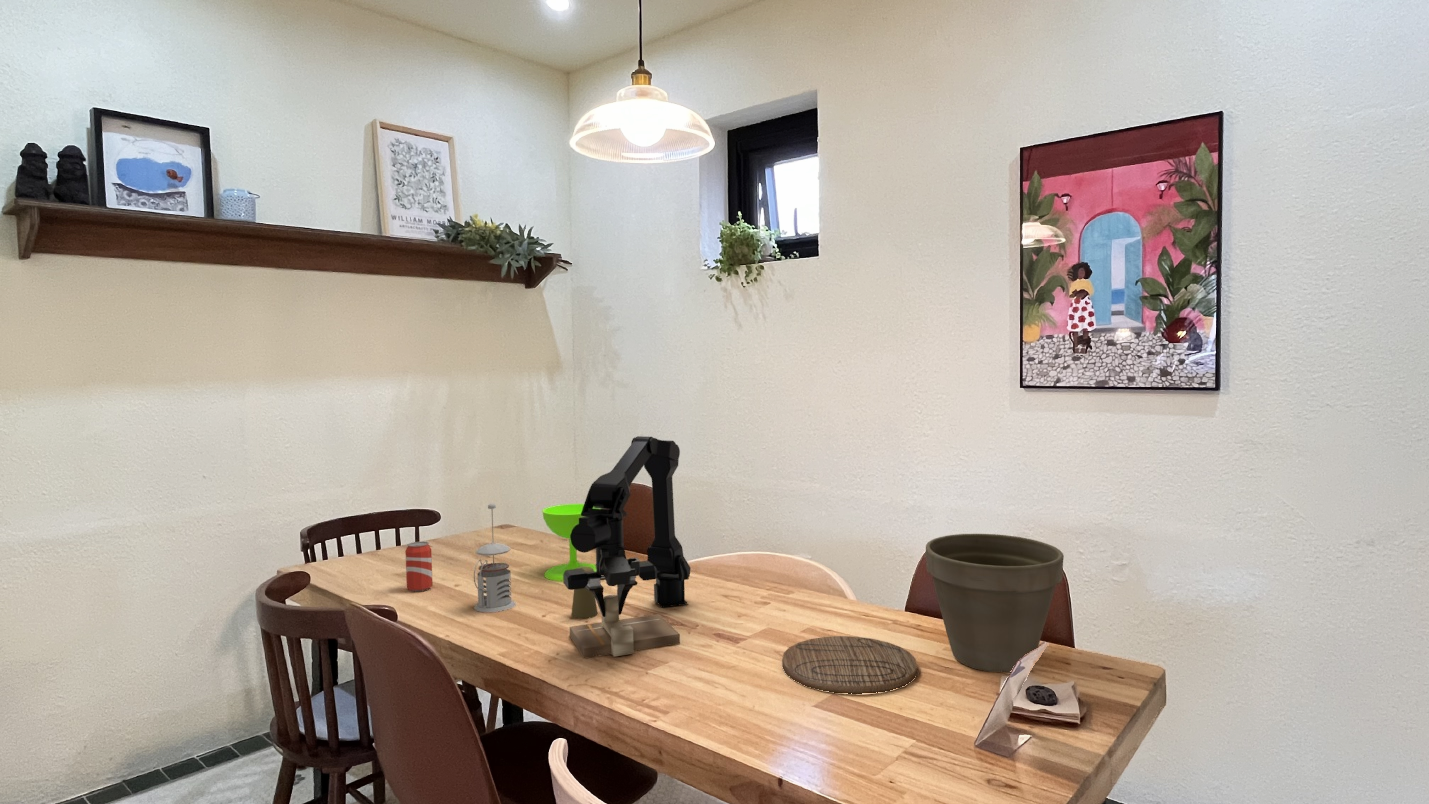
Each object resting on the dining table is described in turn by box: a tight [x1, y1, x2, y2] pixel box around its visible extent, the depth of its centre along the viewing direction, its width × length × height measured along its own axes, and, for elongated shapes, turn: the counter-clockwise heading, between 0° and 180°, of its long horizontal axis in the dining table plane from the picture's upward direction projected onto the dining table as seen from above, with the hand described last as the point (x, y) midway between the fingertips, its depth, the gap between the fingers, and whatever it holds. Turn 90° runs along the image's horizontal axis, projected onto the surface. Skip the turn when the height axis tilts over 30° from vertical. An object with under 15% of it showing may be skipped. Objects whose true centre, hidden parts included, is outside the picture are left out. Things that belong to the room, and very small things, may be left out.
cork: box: [571, 567, 599, 620], centre depth 182 cm, size 6×6×11 cm
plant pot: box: [925, 533, 1065, 674], centre depth 150 cm, size 25×25×22 cm
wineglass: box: [541, 503, 600, 582], centre depth 218 cm, size 16×16×18 cm
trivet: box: [781, 635, 918, 694], centre depth 148 cm, size 25×25×2 cm
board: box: [569, 613, 681, 659], centre depth 165 cm, size 20×14×2 cm
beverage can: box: [404, 541, 434, 593], centre depth 205 cm, size 6×6×12 cm
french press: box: [473, 502, 517, 613], centre depth 188 cm, size 10×12×25 cm
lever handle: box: [601, 594, 635, 657], centre depth 161 cm, size 4×13×9 cm, turn 22°
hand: (611, 615), depth 164 cm, fingers closed on lever handle, 3 cm apart
